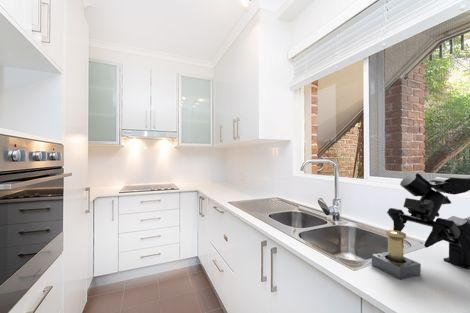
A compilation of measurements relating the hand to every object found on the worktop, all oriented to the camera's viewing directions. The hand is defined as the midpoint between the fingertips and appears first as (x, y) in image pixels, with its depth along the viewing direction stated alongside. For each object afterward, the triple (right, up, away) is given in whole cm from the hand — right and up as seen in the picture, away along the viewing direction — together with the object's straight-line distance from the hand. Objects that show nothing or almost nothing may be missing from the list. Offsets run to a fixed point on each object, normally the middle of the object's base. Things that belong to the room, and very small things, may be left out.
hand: (408, 241), depth 70 cm
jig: (-6, -8, -2) cm, 11 cm away
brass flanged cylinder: (-6, -8, -2) cm, 11 cm away
